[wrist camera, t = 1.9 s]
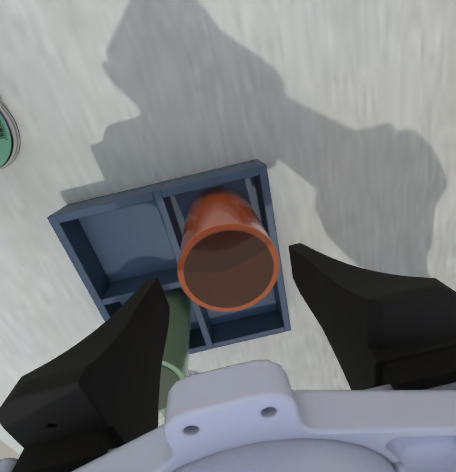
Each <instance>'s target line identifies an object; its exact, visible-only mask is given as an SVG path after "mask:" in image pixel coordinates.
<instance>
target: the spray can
mask: <svg viewBox="0 0 456 472" xmlns="http://www.w3.org/2000/svg"><path fill="white" fill-rule="evenodd" d="M19 148H20V136H19V132H18V128H17V126H16V123H15V121H14V119H13V118H12V116H11V114H10V113H9V112H8V111H7V109H6V108H5V107H4V106H3V105H2V104H1V103H0V169H1V168H4V167H6V166H8V165H9V164H11V163H12V162H13V161H14V160H15V158H16V156H17V154H18V152H19Z"/></svg>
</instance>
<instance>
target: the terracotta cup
mask: <svg viewBox="0 0 456 472" xmlns="http://www.w3.org/2000/svg"><path fill="white" fill-rule="evenodd" d="M278 273H279V256H278V253H277V250H276V248H275V246H274V244H273V242H272V241H271V239H270V237H269V236H268V234H267V232H266V230H265V229H264V227H263V225H262V223H261V222H260V220H259V218H258V216H257V215H256V213H255V211H254V209H253V208H252V206H251V204H250V203H249V201H248V200H247V198H246V197H245V196H244V195H243V194H242V193H240V192H239V191H237V190H235V189H232V188H229V187H222V186H220V187H212V188H209V189H206V190H204V191H202V192H201V193H199V194H198V195H197V196H196V197H195V198H194V199H193V200H192V201H191V203H190V205H189V207H188V210H187V214H186V219H185V225H184V230H183V236H182V242H181V247H180V253H179V259H178V264H177V274H178V279H179V283H180V285H181V287H182V289H183V290H184V292H185V293H186V295H187V296H188V297H189V298H190V299H191V300H193V301H194V302H195V303H197V304H198V305H200V306H202V307H205V308H207V309H210V310H215V311H225V312H228V311H236V310H241V309H244V308H247V307H249V306H252V305H253V304H255V303H257V302H258V301H260V300H261V299H262V298H264V297H265V296H266V295H267V294H268V293H269V292H270V290H271V289H272V287H273V286H274V284H275V282H276V280H277V277H278Z"/></svg>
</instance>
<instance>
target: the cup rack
mask: <svg viewBox="0 0 456 472" xmlns="http://www.w3.org/2000/svg"><path fill="white" fill-rule="evenodd" d="M220 186H222V187H229V188H232V189H235V190H237V191H239V192H240V193H242V194H243V195H244V196H245V197H246V198H247V200H248V201H249V203H250V204H251V206H252V208H253V209H254V211H255V213H256V215H257V216H258V218H259V220H260V222H261V223H262V225H263V227H264V229H265V230H266V232H267V234H268V236H269V237H270V239H271V241H272V242H273V244H274V246H275V248H276V250H277V253H278V256H279V273H278V277H277V280H276V282H275V284H274V286H273V287H272V289H271V290H270V292H269V293H268V294H267V295H266V296H265V297H264V298H262V299H261V300H260V301H258V302H257V303H255V304H253V305H252V306H249V307H247V308H244V309H241V310H236V311H228V312H225V311H215V310H210V309H207V308H205V307H202V306H200V305H198V304H197V303H195V302H194V301H193V300H191V299H190V298H189V297H188V298H189V299H190V302H191V305H192V313H191V330H190V347H189V354H192V353H196V352H200V351H205V350H207V349H213V348H217V347H221V346H225V345H230V344H234V343H238V342H242V341H247V340H251V339H255V338H260V337H264V336H268V335H272V334H277V333H281V332H285V331H289V330H291V326H290V319H289V313H288V306H287V299H286V293H285V286H284V279H283V273H282V266H281V260H280V253H279V246H278V240H277V233H276V226H275V220H274V213H273V206H272V200H271V193H270V187H269V180H268V173H267V167H266V165H265V164H264V163H262V162H261V161H259V160H258V159H257V160H252V161H248V162H244V163H240V164H236V165H232V166H227V167H223V168H219V169H215V170H211V171H207V172H202V173H198V174H194V175H190V176H186V177H182V178H177V179H173V180H169V181H165V182H161V183H157V184H152V185H148V186H144V187H140V188H136V189H131V190H127V191H123V192H119V193H115V194H111V195H106V196H102V197H98V198H94V199H90V200H86V201H81V202H77V203H73V204H69V205H66V206H65V207H63V208H62V209H60V210H58V211H57V212H55V213H54V214H52V215H50V216H49V217H47V218H48V220H49V222H50V224H51V225H52V227H53V229H54V231H55V233H56V234H57V236H58V238H59V240H60V242H61V243H62V245H63V247H64V249H65V251H66V252H67V254H68V256H69V258H70V260H71V261H72V263H73V265H74V267H75V268H76V270H77V272H78V274H79V276H80V277H81V279H82V281H83V283H84V285H85V286H86V288H87V290H88V292H89V294H90V295H91V297H92V299H93V301H94V303H95V304H96V306H97V308H98V310H99V312H100V313H101V315H102V317H103V319H104V320H105V322H106V321H107V320H108V319H109V318H110V317H111V316H112V315H113V314H114V313H115V312H116V311H117V310H118V309H119V308H120V307H121V306H122V305H123V304H124V303H125V302H126V301H127V300H128V299H129V298H130V297H131V296H132V295H133V294H134V293H135V291H136V290H137V289H138V288H139V287H140V286H141V285H142V284H143V283H144V282H145V281H146V280H148V279H152V278H156V277H158V279H159V281H160V284H161V286H162V289H163V291H166V290H171V289H175V288H178V289H180V290H181V291H183V292H184V290H183V289H182V287H181V285H180V283H179V279H178V274H177V264H178V259H179V253H180V247H181V242H182V236H183V230H184V225H185V219H186V214H187V210H188V207H189V205H190V203H191V201H192V200H193V199H194V198H195V197H196V196H197V195H198V194H199V193H201V192H202V191H204V190H206V189H209V188H212V187H220ZM184 293H185V292H184ZM185 294H186V293H185Z"/></svg>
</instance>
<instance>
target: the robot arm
mask: <svg viewBox="0 0 456 472" xmlns="http://www.w3.org/2000/svg"><path fill="white" fill-rule="evenodd" d="M289 252H290V259H291V267H292V274H293V279H294V281H295V283H296V285H297V288H298V290H299V292H300V294H301V295H302V297H303V298H304V300H305V302H306V303H307V305H308V306H309V308H310V309H311V311H312V313H313V314H314V316H315V317H316V319H317V320H318V322H319V324H320V325H321V327H322V329H323V331H324V332H325V334H326V336H327V339H328V341H329V343H330V345H331V347H332V349H333V351H334V353H335V355H336V357H337V359H338V361H339V363H340V366H341V368H342V370H343V372H344V374H345V377H346V379H347V381H348V383H349V386H350V388H351V390H292V389H291V386H290V383H289V380H288V377H287V374H286V372H285V371H284V369H283V368H282V366H281V365H279V364H277V363H274V362H272V361H269V360H255V361H250V362H245V363H241V364H237V365H233V366H228V367H224V368H220V369H216V370H211V371H207V372H203V373H199V374H195V375H190V376H188V377H186V378H184V379H181V380H179V381H177V382H176V383H175V384H174V385H173V387H172V388H171V389H170V390H169V392H168V400H167V408H166V416H165V424H164V425H162V426H160V427H158V408H159V389H160V376H161V366H162V360H163V354H164V349H165V344H166V338H167V333H168V327H169V316H170V306H169V304H168V301H167V299H166V296H165V294H164V291H163V289H162V286H161V284H160V281H159V279H158V277H156V278H152V279H148V280H146V281H145V282H144V283H143V284H142V285H141V286H140V287H139V288H138V289H137V290H136V291H135V293H134V294H133V295H132V296H131V297H130V298H129V299H128V300H127V301H126V302H125V303H124V304H123V305H122V306H121V307H120V308H119V309H118V310H117V311H116V312H115V313H114V314H113V315H112V316H111V317H110V318H109V319H108V320H107V321H106V322H105V323H104V324H102V325H101V326H100V327H99V328H98V329H96V330H95V331H94V332H93V333H91V334H90V335H89V336H87V337H86V338H85V339H83V340H82V341H81V342H79V343H78V344H76V345H75V346H74V347H72V348H71V349H69V350H68V351H66V352H65V353H63V354H61V355H60V356H58V357H56V358H55V359H53V360H51V361H50V362H48V363H46V364H44V365H43V366H41V367H39V368H37V369H35V370H34V371H32V372H30V373H28V374H26V375H24V376H22V377H21V378H20V380H19V381H18V383H17V384H16V386H15V387H14V388H13V390H12V391H11V393H10V394H9V396H8V397H7V398H6V400H5V401H4V403H3V404H2V406H1V407H0V424H1V425H2V426H3V428H4V429H5V430H6V431H7V432H8V433H9V434H10V435H11V436H12V437H13V438H14V439H15V440H16V441H17V442H18V443H19V444H20V445H21V446H22V447H24V450H23V452H22V454H21V455H20V457H19V459H15V458H5V459H1V460H0V472H456V292H455V291H454V290H452V289H451V288H449V287H448V286H446V285H445V284H443V283H442V282H440V281H439V280H437V279H436V278H422V277H408V276H400V275H392V274H386V273H381V272H376V271H371V270H367V269H363V268H359V267H356V266H352V265H349V264H346V263H343V262H341V261H338V260H335V259H333V258H331V257H328V256H326V255H324V254H322V253H319V252H317V251H315V250H313V249H311V248H309V247H307V246H305V245H303V244H301V243H298V244H294V245H290V246H289Z"/></svg>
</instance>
